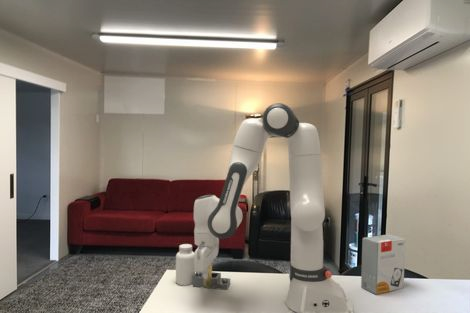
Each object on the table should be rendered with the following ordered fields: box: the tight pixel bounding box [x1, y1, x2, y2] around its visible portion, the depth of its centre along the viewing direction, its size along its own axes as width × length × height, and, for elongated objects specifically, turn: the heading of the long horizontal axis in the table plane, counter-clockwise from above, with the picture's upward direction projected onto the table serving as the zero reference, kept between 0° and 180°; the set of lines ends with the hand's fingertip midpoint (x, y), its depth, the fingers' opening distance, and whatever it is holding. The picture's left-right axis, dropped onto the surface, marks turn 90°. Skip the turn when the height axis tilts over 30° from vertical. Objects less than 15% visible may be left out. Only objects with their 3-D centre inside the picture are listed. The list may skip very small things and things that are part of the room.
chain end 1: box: [192, 271, 222, 288], centre depth 126 cm, size 10×6×5 cm, turn 79°
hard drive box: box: [360, 233, 406, 295], centre depth 123 cm, size 16×8×20 cm, turn 114°
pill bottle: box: [175, 243, 196, 286], centre depth 129 cm, size 8×8×15 cm
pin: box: [204, 264, 213, 287], centre depth 117 cm, size 3×3×8 cm
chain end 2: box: [202, 277, 231, 291], centre depth 125 cm, size 10×6×3 cm, turn 79°
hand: (207, 275), depth 117 cm, fingers closed on pin, 3 cm apart
